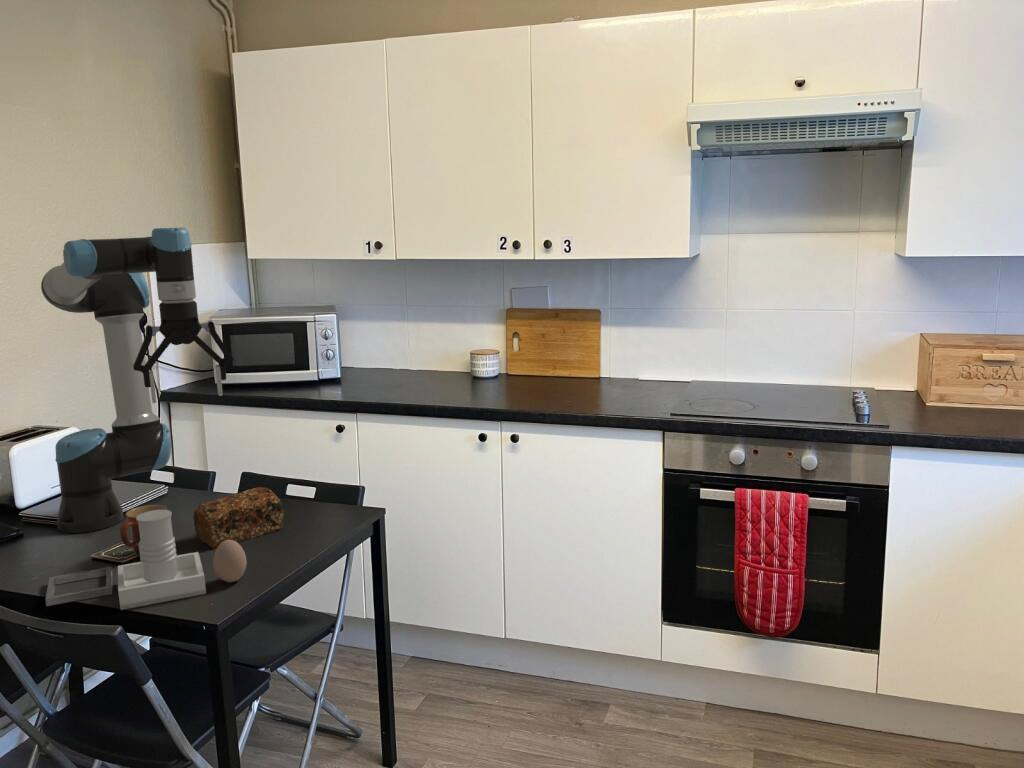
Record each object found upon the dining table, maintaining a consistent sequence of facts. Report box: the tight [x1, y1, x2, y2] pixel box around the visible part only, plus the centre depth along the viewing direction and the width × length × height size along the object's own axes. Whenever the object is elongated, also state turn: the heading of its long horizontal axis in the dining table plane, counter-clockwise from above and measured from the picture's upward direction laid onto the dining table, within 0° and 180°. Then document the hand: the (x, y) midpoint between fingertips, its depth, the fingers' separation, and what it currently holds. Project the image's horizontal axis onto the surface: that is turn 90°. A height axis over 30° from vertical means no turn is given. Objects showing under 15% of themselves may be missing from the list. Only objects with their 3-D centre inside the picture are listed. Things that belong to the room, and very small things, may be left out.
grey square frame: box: [45, 566, 113, 607], centre depth 180 cm, size 12×12×2 cm
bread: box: [192, 486, 284, 550], centre depth 208 cm, size 19×11×10 cm, turn 132°
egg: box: [212, 540, 248, 583], centre depth 181 cm, size 7×7×9 cm
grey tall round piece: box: [136, 509, 178, 584], centre depth 178 cm, size 7×7×15 cm
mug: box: [119, 504, 168, 558], centre depth 196 cm, size 12×9×10 cm
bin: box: [117, 551, 207, 611], centre depth 179 cm, size 14×16×4 cm
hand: (187, 398), depth 189 cm, fingers open, 13 cm apart
